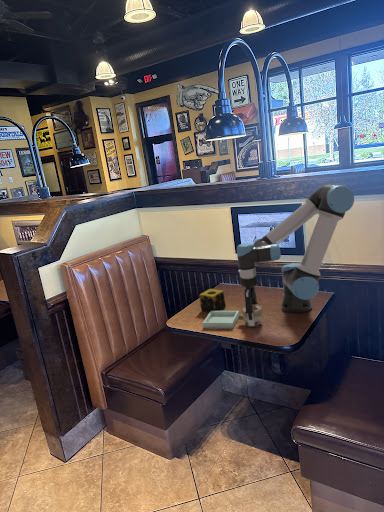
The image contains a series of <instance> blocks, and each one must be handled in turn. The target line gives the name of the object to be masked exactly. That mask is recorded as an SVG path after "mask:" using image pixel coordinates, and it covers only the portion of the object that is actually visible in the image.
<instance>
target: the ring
mask: <svg viewBox="0 0 384 512" xmlns="http://www.w3.org/2000/svg"><path fill="white" fill-rule="evenodd" d="M252 310H253V315H254V322H258V321H260V322H261V321H262V320H263V317H264V315H263V307H262V306H261V305H258V304H256V305H252ZM241 312H242V313H239V319H238V320H239V321H241V320H242V321H244V322H248V315H247V314H246V313H245V312H246V306H245V307H243V308H242V310H241Z"/></svg>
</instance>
